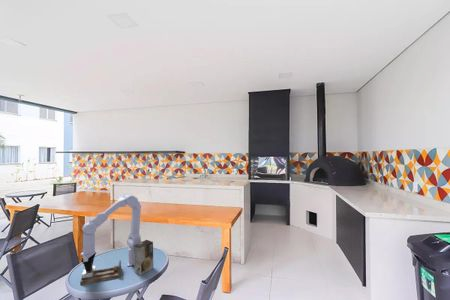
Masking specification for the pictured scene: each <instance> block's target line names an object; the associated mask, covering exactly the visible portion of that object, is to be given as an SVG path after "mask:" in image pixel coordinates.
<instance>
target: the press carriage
mask: <svg viewBox="0 0 450 300" xmlns="http://www.w3.org/2000/svg"><path fill="white" fill-rule="evenodd" d="M95 270H97V265H92V264H91V270H90V271H86V270H85V269H83V271H82V273H81V278H85V277H91V276H93V274H94V272H95Z"/></svg>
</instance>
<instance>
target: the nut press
mask: <svg viewBox="0 0 450 300" xmlns="http://www.w3.org/2000/svg"><path fill="white" fill-rule="evenodd" d="M121 272H122V260H120V259H119V261H118V265H113V266H112V267H108V268H107V267H106V268H103V269H102V268H101V269H96V270H95V272H94V274H93V276H91V277H85V278H82V277H81V278H80V282H79V283H80V286H81V285H86V284H91V283H96V282H101V281H106V280H111V279H112V280H113V279H118V278H121V277H120V276H121Z"/></svg>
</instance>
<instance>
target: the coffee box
mask: <svg viewBox="0 0 450 300" xmlns="http://www.w3.org/2000/svg"><path fill="white" fill-rule="evenodd" d="M134 264H135V265H134V273H135V274H137V275H139V276H142V275H144V274H146V273H147V272H149V271H150V270H153V268H154V242H153V241H151V240H147V239H145V240H143V241H141V242H140V243H138V244H136V245H134Z"/></svg>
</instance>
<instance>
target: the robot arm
mask: <svg viewBox="0 0 450 300" xmlns="http://www.w3.org/2000/svg"><path fill="white" fill-rule="evenodd" d="M139 201H140V200H139V199H138V198H137V197H136V196H135V195H133V194H130V193H125V194H123V195H122V196H120V197H119V198H118V199H117V200H115V202H114V203H113V204H112V205H110V206H109V207H108V208H107V209H106V210H104V211H103V212H98V213H97V214H96V215H95V216H94V217H92V219H90V220H88V222H85V223H84V224H83V225H82V226H81V227H82V228H81V231H82V232H83V234H82V235H83V237H82V252H81V253H80V256H82V257H83V258H82V259H81V262H82V264H83V266H84V270H86V271H90V270H91V264H92V266H94V261H95V257H96V255H97V252H96V235H95V233H96V231H97V229H98V228H99V227H100V226H101V225H103V224H104V223H105V222H106V221H108V218H109V216H110V215H112V214H113V213H115V212H116V211H117V210H118V209H120V208H121V207H124V208H125V207H127V206H128V207H130V208H131V219H130V220H131V221H130V233H129V235H128V238H127V240H126V243H127V246H128V247H127V250H128V251H127V253H128V254H127V256H128V260H127V265H126V266H127V267H132V266H135V264H134V245H136V244H138V243H140V242H142V238H141V234H140V228H141V227H140V226H141V211H142V210H141V209H142V205H141V203H140V202H139Z"/></svg>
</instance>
